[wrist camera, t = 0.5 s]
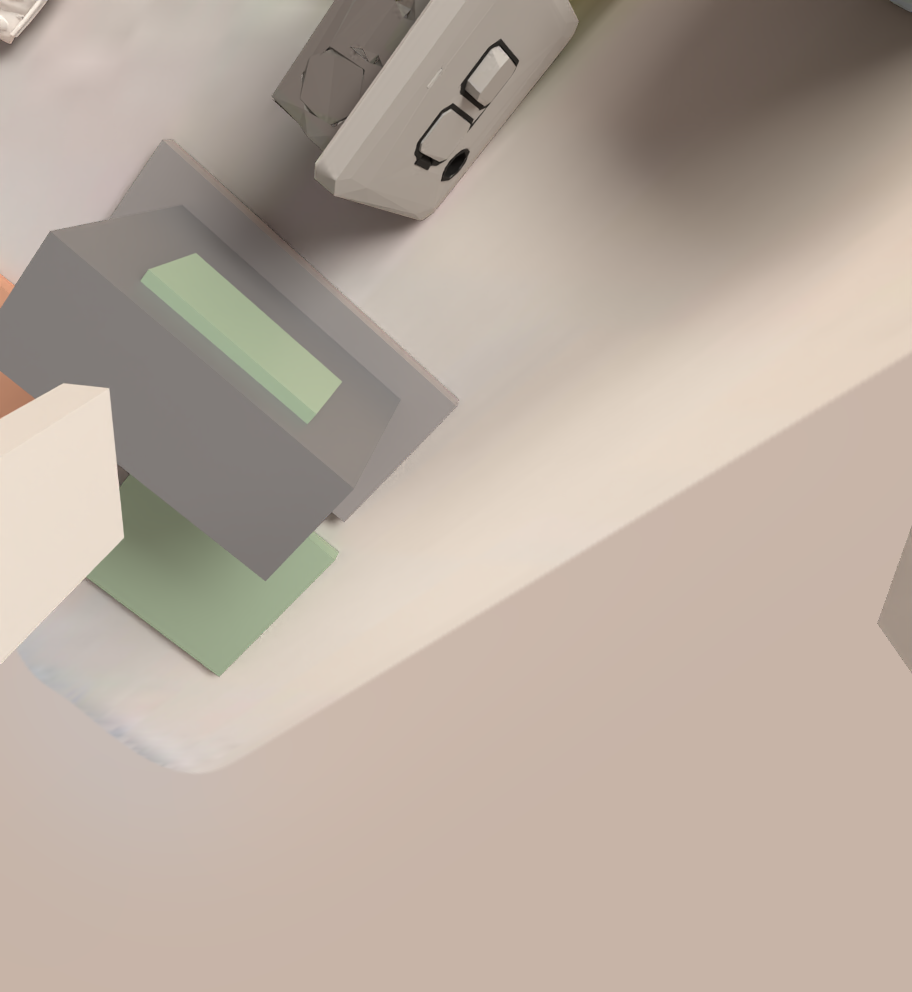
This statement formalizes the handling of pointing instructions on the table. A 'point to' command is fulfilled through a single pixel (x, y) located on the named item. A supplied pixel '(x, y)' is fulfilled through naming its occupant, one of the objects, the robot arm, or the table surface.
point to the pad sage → (198, 580)
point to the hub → (220, 362)
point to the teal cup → (903, 4)
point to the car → (17, 16)
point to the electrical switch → (416, 91)
